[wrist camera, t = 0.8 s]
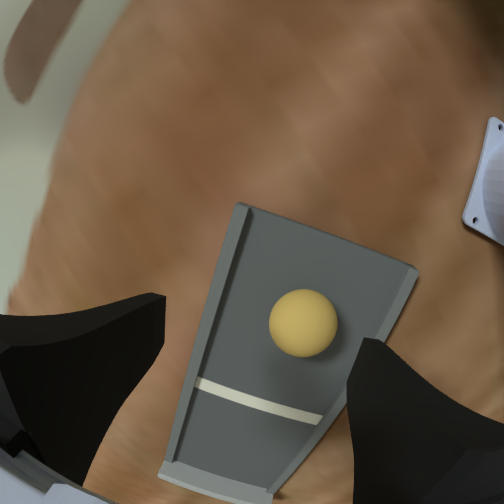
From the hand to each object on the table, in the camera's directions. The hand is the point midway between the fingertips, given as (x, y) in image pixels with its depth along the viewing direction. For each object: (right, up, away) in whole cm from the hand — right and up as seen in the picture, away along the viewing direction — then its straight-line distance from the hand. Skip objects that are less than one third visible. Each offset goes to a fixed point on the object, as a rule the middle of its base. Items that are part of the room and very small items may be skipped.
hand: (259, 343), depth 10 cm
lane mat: (0, -8, +12) cm, 15 cm away
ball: (+3, -1, +7) cm, 8 cm away
